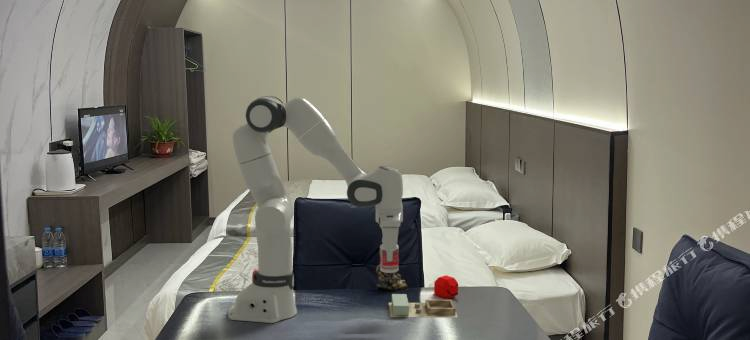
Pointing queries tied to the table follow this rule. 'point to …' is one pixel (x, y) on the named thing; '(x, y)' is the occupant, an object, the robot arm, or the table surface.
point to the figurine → (390, 281)
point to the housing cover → (400, 304)
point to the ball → (446, 287)
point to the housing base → (429, 309)
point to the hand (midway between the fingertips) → (389, 257)
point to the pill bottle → (389, 265)
